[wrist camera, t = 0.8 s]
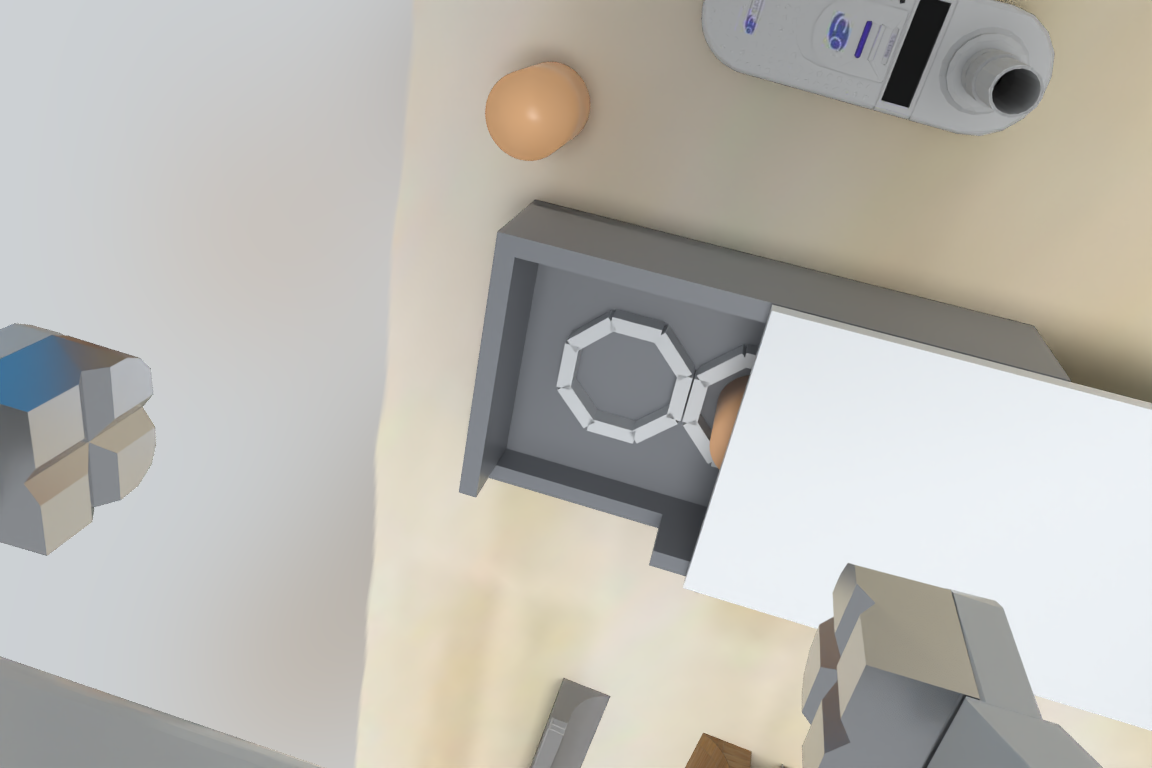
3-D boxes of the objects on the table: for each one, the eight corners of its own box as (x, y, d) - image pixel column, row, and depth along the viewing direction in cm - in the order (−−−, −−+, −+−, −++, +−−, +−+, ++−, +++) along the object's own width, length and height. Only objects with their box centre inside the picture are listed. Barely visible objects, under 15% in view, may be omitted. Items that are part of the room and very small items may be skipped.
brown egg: (520, 53, 42) (491, 61, 38) (597, 71, 42) (576, 81, 38) (508, 134, 44) (480, 149, 40) (582, 152, 44) (560, 169, 40)
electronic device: (700, -81, 30) (1136, 31, 28) (728, -68, 38) (1064, 18, 36) (659, 74, 32) (1056, 187, 30) (694, 53, 41) (1006, 141, 39)
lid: (772, 304, 38) (769, 336, 34) (1399, 467, 35) (1464, 519, 31) (684, 578, 45) (675, 626, 42) (1195, 733, 42) (1229, 798, 39)
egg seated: (727, 366, 46) (721, 403, 42) (801, 386, 45) (801, 425, 41) (708, 429, 47) (700, 470, 44) (779, 449, 47) (777, 492, 43)
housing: (535, 199, 45) (497, 231, 39) (1033, 326, 42) (1071, 380, 36) (493, 449, 53) (456, 506, 47) (914, 572, 49) (930, 650, 44)
